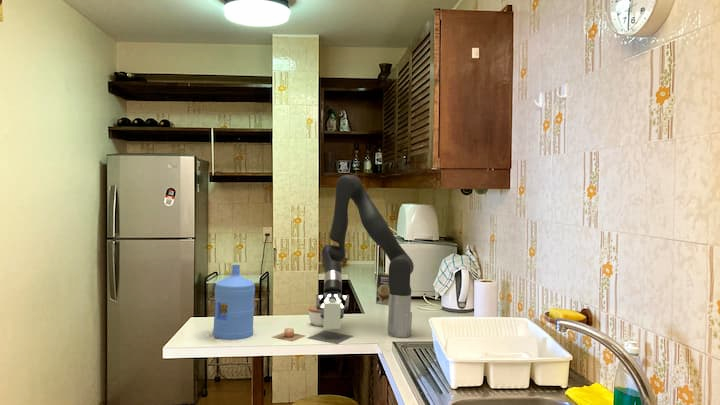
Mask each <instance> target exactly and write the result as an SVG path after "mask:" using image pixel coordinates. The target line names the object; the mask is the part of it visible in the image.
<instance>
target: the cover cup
mask: <svg viewBox="0 0 720 405" xmlns="http://www.w3.org/2000/svg"><path fill="white" fill-rule="evenodd" d="M323 302H324V326H323V330H340V329H341V319H340V312H341V302H342V300H341V301H335V299H330V301H325V300H323Z"/></svg>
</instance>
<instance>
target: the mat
mask: <svg viewBox="0 0 720 405" xmlns="http://www.w3.org/2000/svg"><path fill="white" fill-rule="evenodd" d="M353 337H354V335H352V334H351V335H350V334H344V333H339V332H335V331H328V330H323V331H322V330H321V331H320V332H318V333H315V334H314V335H310V336H308V337H307V338H306V339H308V340H314V341H319V342H323V343H328V344H333V345H339V344H340V343H342V342H344V341H347V340H349V339H351V338H353Z"/></svg>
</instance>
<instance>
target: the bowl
mask: <svg viewBox="0 0 720 405" xmlns="http://www.w3.org/2000/svg"><path fill="white" fill-rule="evenodd" d="M283 333H284V335H285V336H286V337H292V336H293V335H294V333H295V329H294V328H290V327H287V328H284V330H283Z"/></svg>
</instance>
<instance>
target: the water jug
mask: <svg viewBox="0 0 720 405" xmlns="http://www.w3.org/2000/svg"><path fill="white" fill-rule="evenodd" d="M231 267H232V268H231V275H229V276H228V277H225V278H223V279H221V280H219V281H217V282H216V283H215V286H214V301H215V308H214V310H215V311H214V312H215V314H214V317H213V329H212V335H213V337H215V338H217V339H219V340H220V339H221V340H242V339H246V338H249V337H251V336H252V335H253V334H254V314H255V293H256V286H255V285H256V284H255V282H254V281H252V280H250V279H248V278H246V277H244V276H242V275H241V274H240V272H241V269H240V267H241V265H240V264H232V265H231ZM221 304H226V305H227V306H226V307H227V308H226V312H225V313H221Z"/></svg>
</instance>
